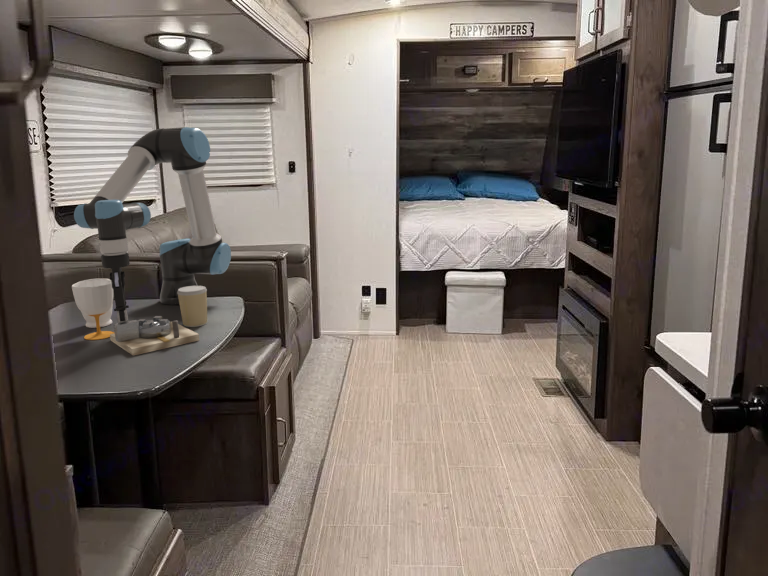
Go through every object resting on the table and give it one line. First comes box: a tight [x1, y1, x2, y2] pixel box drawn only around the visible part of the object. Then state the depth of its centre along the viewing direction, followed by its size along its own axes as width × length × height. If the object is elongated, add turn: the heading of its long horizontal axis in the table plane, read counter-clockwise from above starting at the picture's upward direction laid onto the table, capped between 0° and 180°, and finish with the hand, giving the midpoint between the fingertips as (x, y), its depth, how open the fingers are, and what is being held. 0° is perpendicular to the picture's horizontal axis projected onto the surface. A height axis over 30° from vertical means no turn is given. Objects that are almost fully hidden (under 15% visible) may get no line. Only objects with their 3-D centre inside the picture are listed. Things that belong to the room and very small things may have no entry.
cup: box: [71, 279, 115, 341], centre depth 204 cm, size 12×12×17 cm
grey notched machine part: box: [113, 315, 171, 342], centre depth 196 cm, size 16×10×5 cm, turn 129°
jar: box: [76, 277, 114, 329], centre depth 217 cm, size 11×10×15 cm
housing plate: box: [109, 320, 200, 357], centre depth 198 cm, size 20×20×7 cm
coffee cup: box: [177, 285, 208, 328], centre depth 215 cm, size 9×9×12 cm
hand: (124, 330), depth 195 cm, fingers closed
